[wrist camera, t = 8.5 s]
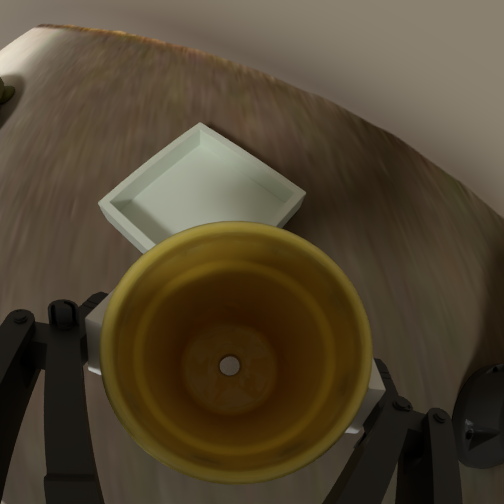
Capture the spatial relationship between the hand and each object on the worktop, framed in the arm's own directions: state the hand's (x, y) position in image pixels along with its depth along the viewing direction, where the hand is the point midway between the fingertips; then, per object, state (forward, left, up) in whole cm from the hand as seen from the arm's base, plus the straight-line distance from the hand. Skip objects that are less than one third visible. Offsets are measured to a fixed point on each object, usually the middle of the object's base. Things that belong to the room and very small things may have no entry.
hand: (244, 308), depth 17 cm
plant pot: (-1, +3, -4) cm, 5 cm away
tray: (+13, -10, -16) cm, 23 cm away
